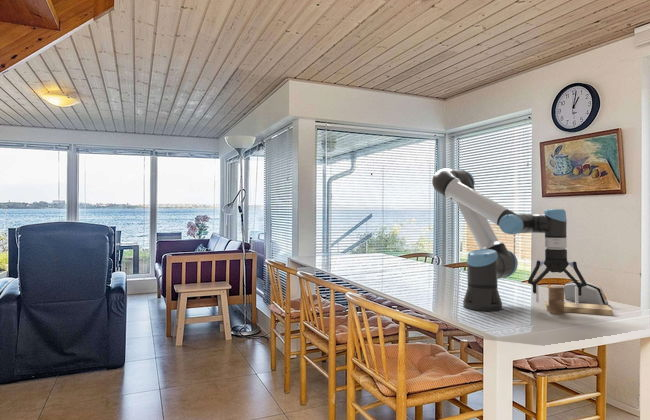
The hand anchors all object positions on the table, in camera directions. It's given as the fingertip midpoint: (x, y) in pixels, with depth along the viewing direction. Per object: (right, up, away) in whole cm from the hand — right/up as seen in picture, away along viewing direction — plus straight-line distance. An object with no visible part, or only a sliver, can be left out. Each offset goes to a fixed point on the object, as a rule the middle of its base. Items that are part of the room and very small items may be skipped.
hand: (556, 303), depth 167 cm
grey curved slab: (+22, -4, +19) cm, 29 cm away
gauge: (+2, -4, +5) cm, 7 cm away
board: (+10, -4, +3) cm, 11 cm away
